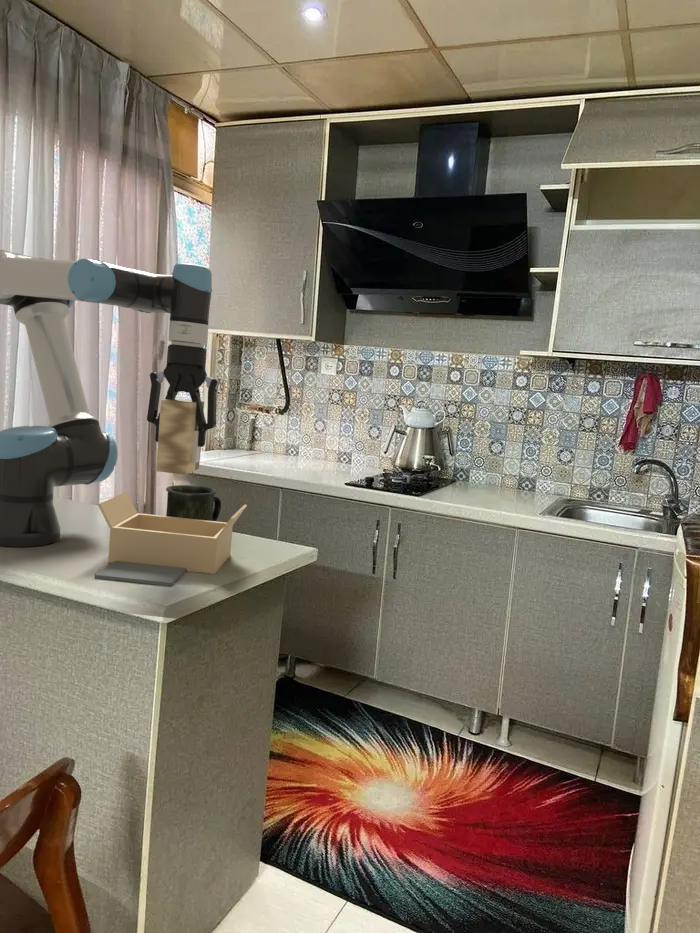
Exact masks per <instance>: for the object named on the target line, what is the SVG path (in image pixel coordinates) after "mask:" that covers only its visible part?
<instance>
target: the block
mask: <svg viewBox="0 0 700 933" xmlns="http://www.w3.org/2000/svg"><path fill="white" fill-rule="evenodd" d="M201 403H202V407H203V411H204V408H205V401H204V400H201ZM196 405H197V402H192V399H187V398H186V399H185V398H177V397H175V399H174V400H169V399H165V398H164V399H160V408H159V409H160V410H159V413H160V422H159V436H158V442H157V453H156V464H155V465H156V466H155V472H158V473H169V474H177V475H188V474H191V473H193V472H195V471H196V470H198V469H200V459H201V452H200V453H199V462H197V463H192V455H193V442H194V431H195V430H198V425H197V421H196ZM201 449H202V448H201V447H200V450H201Z"/></svg>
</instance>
